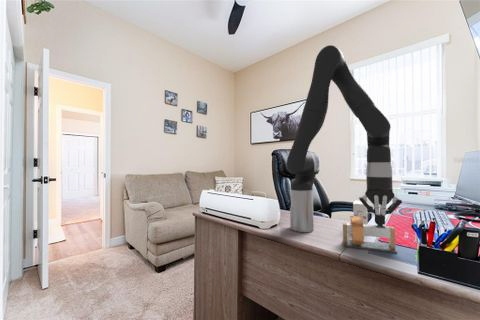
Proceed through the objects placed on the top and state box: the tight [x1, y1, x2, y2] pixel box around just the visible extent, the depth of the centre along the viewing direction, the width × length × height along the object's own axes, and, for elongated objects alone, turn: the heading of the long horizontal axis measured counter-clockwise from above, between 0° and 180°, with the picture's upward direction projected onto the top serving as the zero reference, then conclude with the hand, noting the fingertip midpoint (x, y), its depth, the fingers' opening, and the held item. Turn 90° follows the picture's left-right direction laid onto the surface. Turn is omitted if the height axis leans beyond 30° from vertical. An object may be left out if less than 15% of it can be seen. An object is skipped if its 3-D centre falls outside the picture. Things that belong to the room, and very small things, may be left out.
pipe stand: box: [342, 222, 398, 254], centre depth 71 cm, size 15×6×7 cm, turn 66°
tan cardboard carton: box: [349, 215, 365, 245], centre depth 72 cm, size 3×10×7 cm, turn 156°
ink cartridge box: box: [352, 200, 369, 225], centre depth 89 cm, size 9×5×15 cm, turn 148°
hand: (380, 225), depth 73 cm, fingers closed
